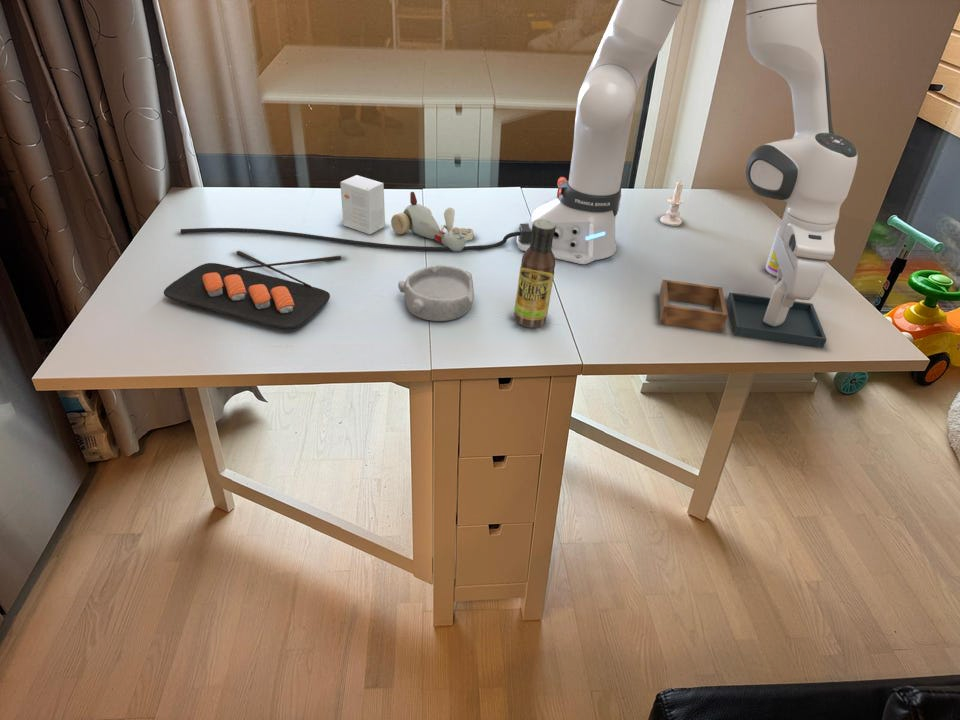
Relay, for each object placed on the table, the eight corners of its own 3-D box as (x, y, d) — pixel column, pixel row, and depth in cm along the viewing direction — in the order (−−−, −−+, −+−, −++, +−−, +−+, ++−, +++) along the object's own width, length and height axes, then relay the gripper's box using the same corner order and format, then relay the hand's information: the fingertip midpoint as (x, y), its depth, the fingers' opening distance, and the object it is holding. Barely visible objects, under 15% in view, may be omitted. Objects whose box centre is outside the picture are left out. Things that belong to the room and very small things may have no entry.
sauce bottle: (510, 326, 133) (519, 227, 121) (517, 309, 138) (527, 212, 126) (543, 332, 132) (557, 233, 120) (550, 316, 137) (563, 218, 125)
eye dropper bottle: (792, 325, 138) (814, 270, 131) (768, 328, 137) (788, 272, 130) (779, 313, 141) (798, 258, 134) (754, 316, 140) (773, 261, 133)
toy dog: (459, 257, 154) (461, 218, 149) (381, 239, 159) (380, 201, 153) (479, 235, 163) (482, 198, 158) (405, 218, 168) (405, 182, 163)
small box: (385, 227, 164) (384, 182, 158) (369, 235, 160) (368, 190, 154) (358, 217, 167) (356, 174, 161) (342, 225, 163) (339, 181, 157)
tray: (733, 335, 135) (736, 326, 134) (726, 300, 145) (729, 292, 144) (823, 348, 133) (826, 339, 132) (809, 312, 144) (812, 303, 142)
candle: (681, 218, 178) (691, 178, 172) (681, 227, 174) (691, 186, 167) (660, 215, 178) (669, 175, 172) (660, 224, 174) (669, 183, 168)
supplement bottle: (798, 281, 154) (818, 226, 147) (766, 276, 155) (784, 221, 148) (793, 267, 159) (812, 213, 152) (763, 263, 160) (780, 209, 153)
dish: (467, 284, 144) (469, 262, 142) (482, 321, 134) (484, 298, 131) (395, 288, 141) (395, 266, 139) (405, 326, 130) (405, 303, 128)
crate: (660, 323, 137) (664, 305, 134) (658, 296, 145) (662, 279, 143) (722, 332, 135) (727, 314, 133) (717, 304, 144) (722, 287, 141)
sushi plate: (157, 302, 132) (153, 284, 130) (253, 237, 156) (251, 221, 153) (295, 339, 125) (293, 321, 123) (374, 266, 148) (373, 249, 146)
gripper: (778, 204, 137) (758, 268, 145) (798, 251, 120) (774, 321, 128) (813, 208, 136) (790, 272, 144) (837, 256, 119) (810, 326, 127)
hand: (783, 296), depth 136 cm, fingers closed on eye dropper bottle, 5 cm apart
